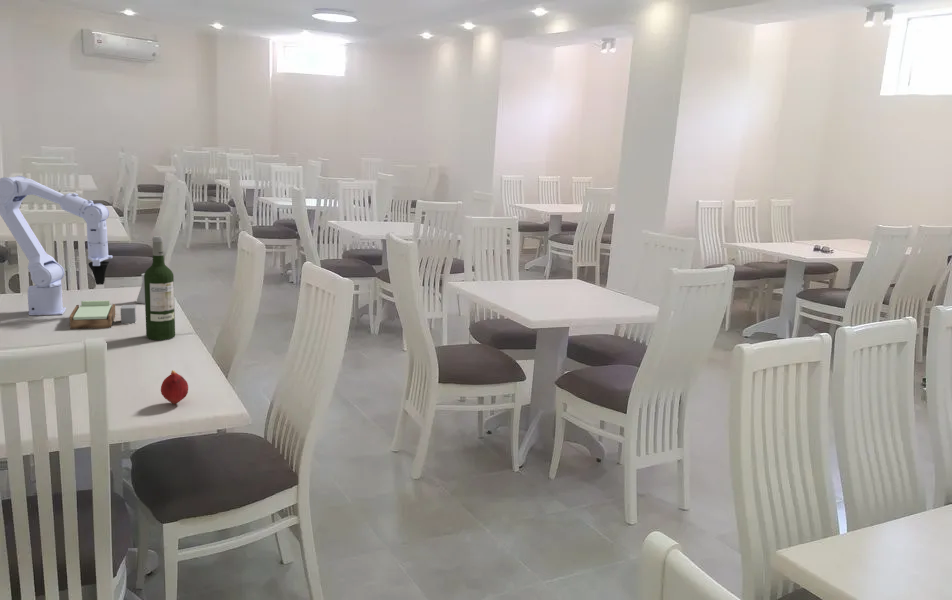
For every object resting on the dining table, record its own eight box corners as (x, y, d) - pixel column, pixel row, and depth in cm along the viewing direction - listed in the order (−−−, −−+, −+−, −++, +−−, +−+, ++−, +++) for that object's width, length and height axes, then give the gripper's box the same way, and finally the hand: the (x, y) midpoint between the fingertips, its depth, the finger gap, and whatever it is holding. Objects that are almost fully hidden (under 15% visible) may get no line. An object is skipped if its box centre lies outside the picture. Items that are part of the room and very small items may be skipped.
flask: (153, 305, 255) (152, 276, 253) (132, 303, 255) (130, 275, 253) (162, 300, 262) (161, 272, 260) (141, 299, 262) (140, 271, 260)
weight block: (121, 324, 230) (120, 308, 229) (122, 320, 234) (121, 305, 233) (135, 323, 231) (134, 308, 230) (136, 320, 235) (135, 304, 234)
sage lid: (73, 319, 221) (73, 312, 220) (80, 307, 234) (79, 300, 234) (106, 318, 224) (106, 311, 223) (111, 307, 237) (111, 300, 237)
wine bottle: (157, 342, 213) (153, 239, 207) (140, 336, 217) (136, 236, 211) (180, 336, 220) (178, 237, 213) (164, 331, 224) (161, 233, 217)
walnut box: (70, 328, 221) (69, 316, 220) (77, 316, 235) (76, 304, 234) (110, 327, 225) (110, 315, 224) (115, 315, 238) (115, 304, 238)
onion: (193, 400, 171) (192, 367, 170) (181, 409, 166) (180, 375, 164) (168, 398, 172) (167, 365, 170) (156, 407, 166) (155, 373, 164)
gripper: (109, 245, 229) (111, 288, 232) (113, 238, 242) (115, 279, 245) (84, 245, 226) (86, 289, 229) (89, 238, 239) (92, 279, 242)
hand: (100, 284), depth 237 cm, fingers closed
